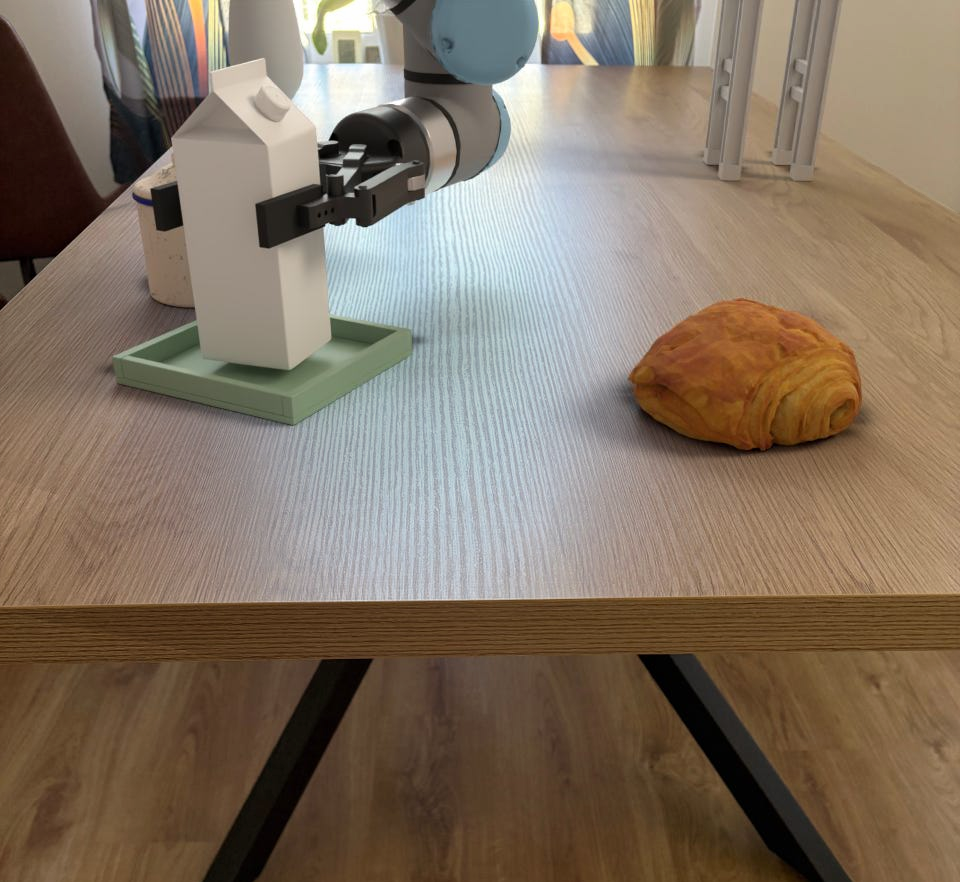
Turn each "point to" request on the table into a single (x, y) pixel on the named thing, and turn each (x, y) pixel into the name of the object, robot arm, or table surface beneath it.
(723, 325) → the croissant
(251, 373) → the drinks tray
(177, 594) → the table surface
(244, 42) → the wineglass
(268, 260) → the milk carton
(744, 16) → the grey tall open frame
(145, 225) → the teacup with lid
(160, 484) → the table surface
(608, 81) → the table surface
